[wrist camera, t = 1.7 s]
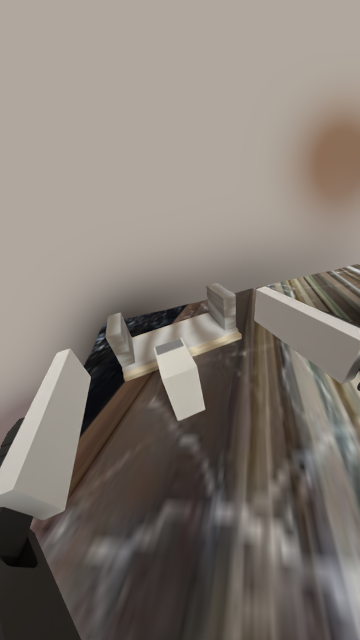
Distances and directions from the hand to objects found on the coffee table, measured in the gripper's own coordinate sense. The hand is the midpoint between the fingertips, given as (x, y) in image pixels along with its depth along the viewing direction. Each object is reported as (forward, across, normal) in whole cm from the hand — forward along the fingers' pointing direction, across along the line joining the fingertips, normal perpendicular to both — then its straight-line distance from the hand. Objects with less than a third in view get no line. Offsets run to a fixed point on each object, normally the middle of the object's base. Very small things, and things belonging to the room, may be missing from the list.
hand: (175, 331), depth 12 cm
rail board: (+26, +4, -22) cm, 34 cm away
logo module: (+10, 0, -22) cm, 24 cm away
